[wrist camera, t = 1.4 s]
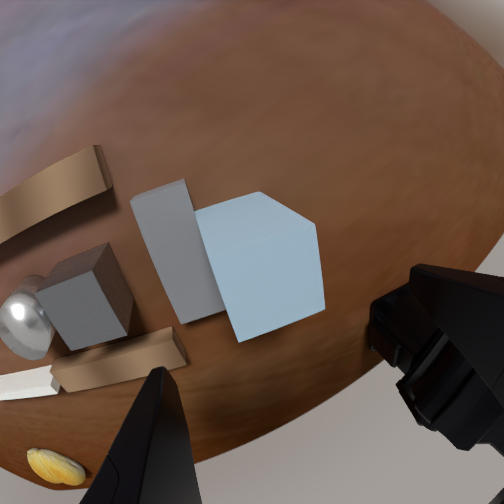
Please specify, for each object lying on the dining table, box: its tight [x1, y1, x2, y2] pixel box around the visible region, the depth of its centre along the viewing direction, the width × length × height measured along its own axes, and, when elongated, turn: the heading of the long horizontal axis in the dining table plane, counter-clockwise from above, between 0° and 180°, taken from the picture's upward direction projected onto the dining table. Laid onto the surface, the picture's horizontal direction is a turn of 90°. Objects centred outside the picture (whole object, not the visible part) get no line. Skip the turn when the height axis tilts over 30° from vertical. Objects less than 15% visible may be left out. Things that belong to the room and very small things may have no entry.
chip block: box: [34, 242, 134, 351], centre depth 14 cm, size 4×4×4 cm
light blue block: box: [130, 179, 325, 342], centre depth 13 cm, size 7×8×7 cm
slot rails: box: [0, 145, 187, 393], centre depth 14 cm, size 11×15×2 cm
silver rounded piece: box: [0, 275, 56, 360], centre depth 13 cm, size 4×4×4 cm
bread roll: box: [27, 448, 85, 485], centre depth 20 cm, size 8×9×4 cm
